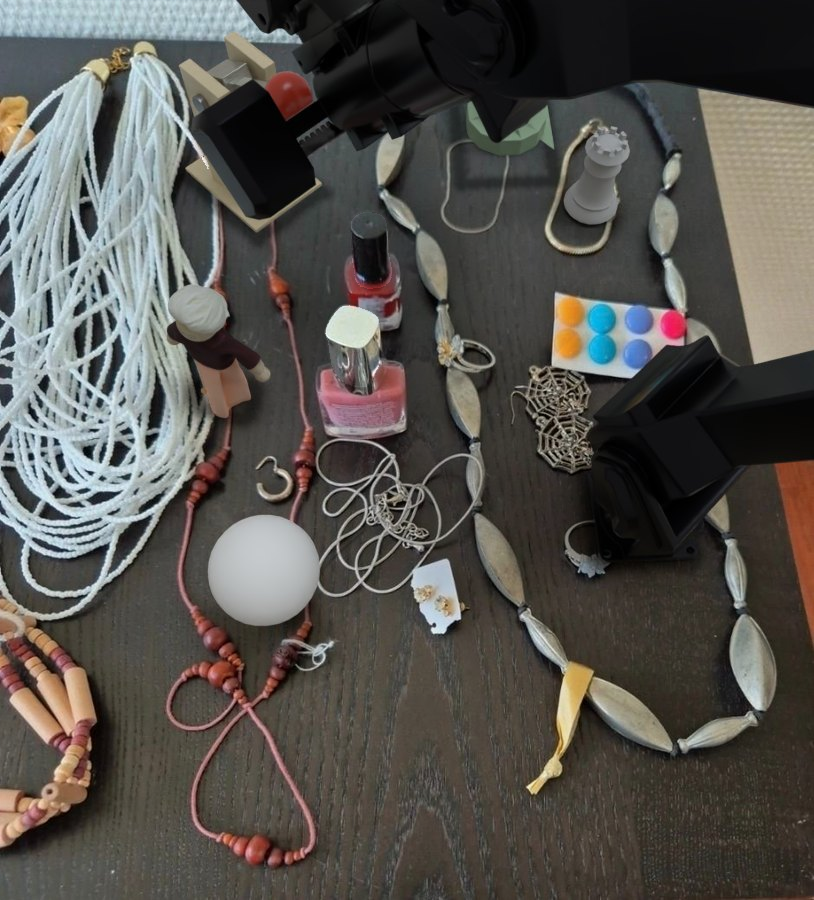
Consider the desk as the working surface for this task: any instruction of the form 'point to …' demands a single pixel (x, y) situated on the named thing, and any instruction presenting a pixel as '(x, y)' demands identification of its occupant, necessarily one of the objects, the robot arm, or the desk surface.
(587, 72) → the robot arm
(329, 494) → the desk surface
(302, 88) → the switch lever
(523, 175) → the desk surface
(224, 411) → the grandmother figurine
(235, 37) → the switch bracket
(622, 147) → the rook chess piece
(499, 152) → the button block
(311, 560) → the lightbulb
